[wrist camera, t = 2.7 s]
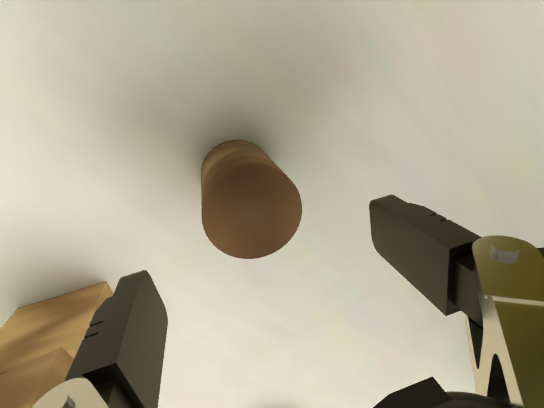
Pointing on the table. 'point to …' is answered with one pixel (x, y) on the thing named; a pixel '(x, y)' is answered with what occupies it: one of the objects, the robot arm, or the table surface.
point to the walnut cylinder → (247, 201)
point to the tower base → (50, 326)
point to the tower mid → (33, 379)
